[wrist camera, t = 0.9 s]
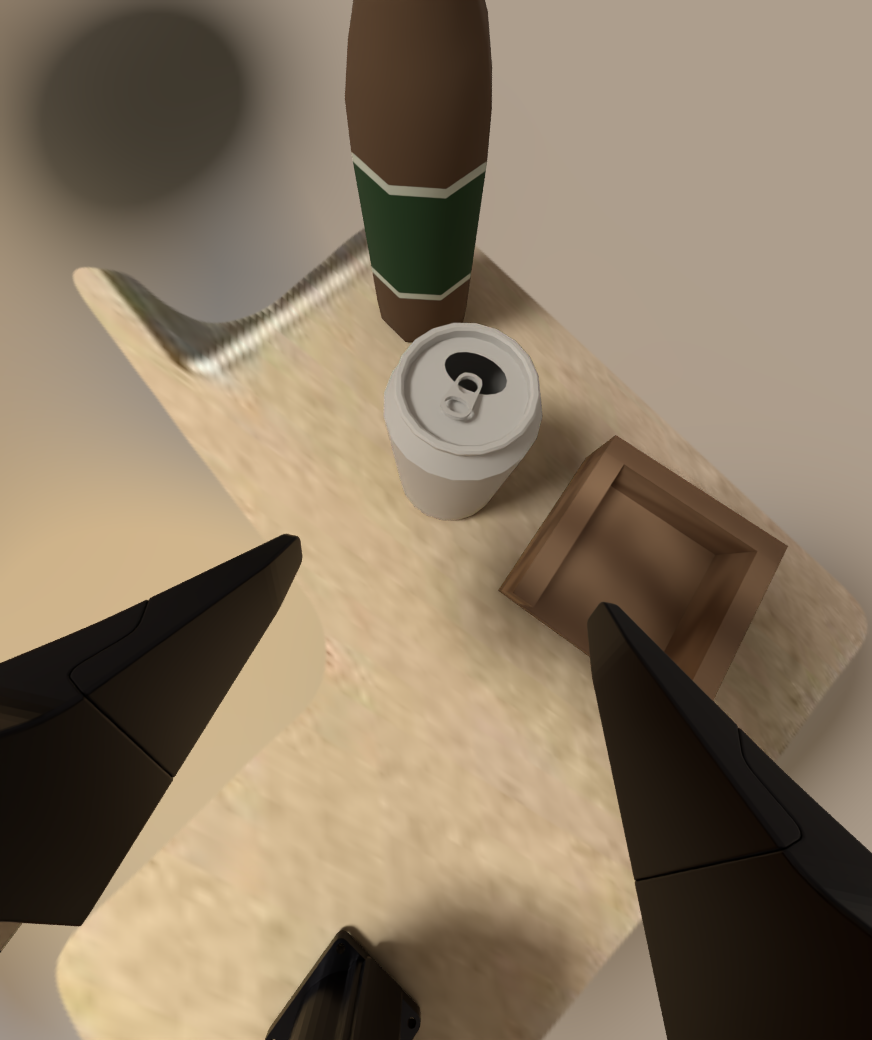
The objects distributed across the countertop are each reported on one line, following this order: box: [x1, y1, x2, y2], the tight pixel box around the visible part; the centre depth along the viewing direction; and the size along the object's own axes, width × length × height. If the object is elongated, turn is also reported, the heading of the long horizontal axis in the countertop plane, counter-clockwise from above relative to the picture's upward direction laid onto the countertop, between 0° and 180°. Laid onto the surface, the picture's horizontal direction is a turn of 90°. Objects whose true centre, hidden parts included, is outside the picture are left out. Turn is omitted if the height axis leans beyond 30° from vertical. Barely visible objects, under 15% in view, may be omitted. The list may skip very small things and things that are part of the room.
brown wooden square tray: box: [498, 435, 788, 700], centre depth 22 cm, size 13×13×4 cm
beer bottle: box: [345, 0, 492, 342], centre depth 16 cm, size 8×8×24 cm
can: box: [384, 323, 542, 520], centre depth 19 cm, size 8×8×12 cm
